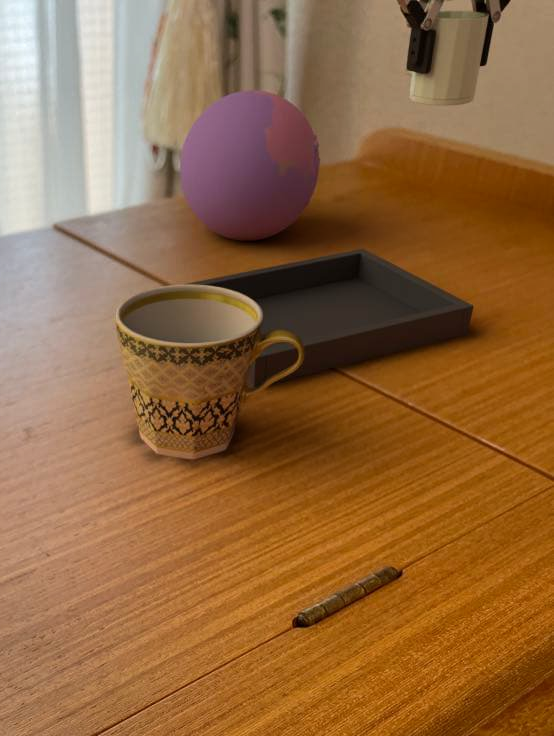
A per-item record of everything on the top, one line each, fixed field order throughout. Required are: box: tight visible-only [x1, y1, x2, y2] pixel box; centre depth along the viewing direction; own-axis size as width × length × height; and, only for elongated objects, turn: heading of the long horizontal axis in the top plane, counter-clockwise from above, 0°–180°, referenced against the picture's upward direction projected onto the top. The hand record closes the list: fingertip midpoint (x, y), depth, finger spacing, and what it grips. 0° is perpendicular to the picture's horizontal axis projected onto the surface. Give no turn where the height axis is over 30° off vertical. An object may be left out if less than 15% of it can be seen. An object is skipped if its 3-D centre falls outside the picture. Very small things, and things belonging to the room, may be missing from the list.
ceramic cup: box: [114, 283, 305, 460], centre depth 61 cm, size 13×10×10 cm
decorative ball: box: [179, 89, 321, 242], centre depth 94 cm, size 15×15×15 cm
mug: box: [405, 9, 489, 107], centre depth 94 cm, size 10×7×8 cm
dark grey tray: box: [181, 248, 475, 388], centre depth 79 cm, size 22×16×3 cm
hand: (446, 66), depth 94 cm, fingers closed on mug, 6 cm apart
